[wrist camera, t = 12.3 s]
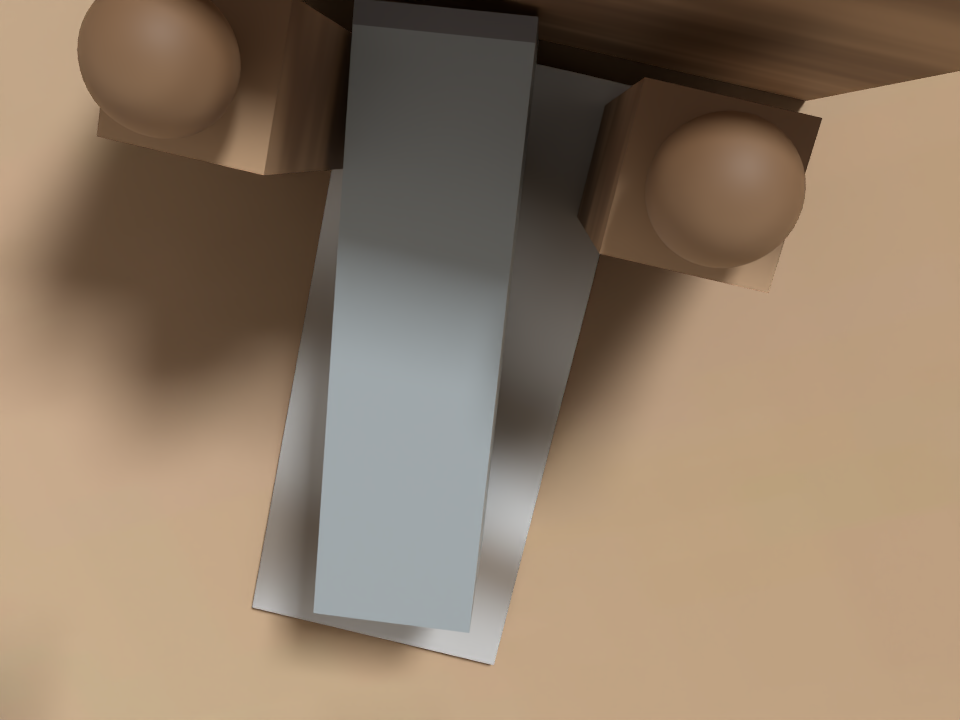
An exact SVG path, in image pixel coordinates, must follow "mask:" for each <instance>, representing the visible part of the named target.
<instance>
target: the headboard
mask: <svg viewBox="0 0 960 720" xmlns="http://www.w3.org/2000/svg"><path fill="white" fill-rule="evenodd" d="M377 1H387V2H397V3H407V4H417V5H427V6H437V7H447V8H456V9H466V10H476V11H486V12H496V13H506V14H516V15H526V16H536V17H538V39H541V40H545V41H550V42H554V43H558V44H562V45H567V46H571V47H575V48H580V49H584V50H588V51H593V52H597V53H601V54H606V55H610V56H614V57H619V58H623V59H627V60H632V61H636V62H640V63H645V64H649V65H653V66H658V67H662V68H666V69H671V70H675V71H679V72H684V73H688V74H692V75H697V76H701V77H705V78H710V79H714V80H718V81H723V82H727V83H731V84H735V85H740V86H744V87H748V88H753V89H757V90H761V91H766V92H770V93H774V94H779V95H783V96H787V97H792V98H796V99H800V100H805V101H808V100H813V99H818V98H823V97H828V96H833V95H838V94H844V93H849V92H854V91H859V90H864V89H869V88H874V87H879V86H885V85H890V84H895V83H900V82H905V81H910V80H915V79H921V78H926V77H931V76H936V75H941V74H946V73H951V72H957V71H960V0H377ZM351 41H352V33H351V32H349V31H347V30H346V29H344V28H343V27H341V26H340V25H338V24H337V23H335V22H333V21H332V20H330V19H329V18H327V17H326V16H324V15H323V14H321V13H319V12H318V11H316V10H315V9H313V8H312V7H310V6H308V5H307V4H305V3H304V2H302V1H301V0H95V2H94V3H93V4H92V5H91V7H90V8H89V10H88V11H87V13H86V15H85V17H84V19H83V22H82V25H81V28H80V31H79V37H78V48H77V51H78V61H79V66H80V71H81V74H82V77H83V80H84V82H85V85H86V87H87V89H88V91H89V92H90V94H91V96H92V97H93V99H94V100H95V101H96V103H97V104H98V105H99V106H100V113H99V122H98V130H97V136H98V137H102V138H106V139H111V140H115V141H119V142H124V143H128V144H132V145H136V146H141V147H145V148H149V149H154V150H158V151H162V152H166V153H171V154H175V155H179V156H183V157H188V158H192V159H196V160H201V161H205V162H209V163H213V164H218V165H222V166H226V167H231V168H235V169H239V170H243V171H248V172H252V173H256V174H260V175H273V174H285V173H297V172H310V171H322V170H332V171H331V177H330V182H329V188H328V193H327V199H326V204H325V210H324V215H323V221H322V226H321V232H320V238H319V243H318V249H317V254H316V260H315V265H314V271H313V276H312V282H311V287H310V293H309V298H308V304H307V309H306V315H305V320H304V326H303V331H302V337H301V342H300V348H299V353H298V359H297V364H296V370H295V375H294V381H293V386H292V392H291V397H290V403H289V408H288V414H287V419H286V425H285V430H284V436H283V441H282V447H281V452H280V458H279V463H278V469H277V474H276V480H275V485H274V491H273V496H272V502H271V507H270V513H269V518H268V524H267V529H266V535H265V540H264V546H263V551H262V557H261V562H260V568H259V573H258V579H257V584H256V590H255V595H254V601H253V606H252V608H257V609H261V610H265V611H269V612H273V613H278V614H282V615H286V616H290V617H294V618H298V619H303V620H307V621H311V622H315V623H319V624H324V625H328V626H332V627H336V628H340V629H344V630H349V631H353V632H357V633H361V634H365V635H370V636H374V637H378V638H382V639H386V640H391V641H395V642H399V643H403V644H407V645H411V646H416V647H420V648H424V649H428V650H432V651H437V652H441V653H445V654H449V655H453V656H457V657H462V658H466V659H470V660H474V661H478V662H483V663H487V664H491V665H494V662H495V658H496V654H497V650H498V646H499V643H500V639H501V635H502V631H503V627H504V623H505V619H506V615H507V612H508V608H509V604H510V600H511V596H512V592H513V588H514V584H515V581H516V577H517V573H518V569H519V565H520V561H521V557H522V553H523V550H524V546H525V542H526V538H527V534H528V530H529V526H530V523H531V519H532V515H533V511H534V507H535V503H536V499H537V495H538V492H539V488H540V484H541V480H542V476H543V472H544V468H545V464H546V461H547V457H548V453H549V449H550V445H551V441H552V437H553V433H554V430H555V426H556V422H557V418H558V414H559V410H560V406H561V403H562V399H563V395H564V391H565V387H566V383H567V379H568V375H569V372H570V368H571V364H572V360H573V356H574V352H575V348H576V344H577V341H578V337H579V333H580V329H581V325H582V321H583V317H584V313H585V310H586V306H587V302H588V298H589V294H590V290H591V286H592V283H593V279H594V275H595V271H596V267H597V263H598V259H599V255H600V254H603V255H607V256H611V257H616V258H620V259H624V260H629V261H633V262H637V263H641V264H646V265H650V266H654V267H659V268H663V269H667V270H671V271H676V272H680V273H684V274H688V275H693V276H697V277H701V278H706V279H710V280H714V281H718V282H723V283H727V284H731V285H736V286H740V287H744V288H748V289H753V290H757V291H761V292H766V293H769V289H770V286H771V283H772V280H773V276H774V273H775V270H776V267H777V263H778V260H779V257H780V254H781V250H782V247H783V244H784V241H785V238H786V237H787V236H788V235H789V233H790V232H791V231H792V229H793V228H794V226H795V224H796V222H797V220H798V218H799V216H800V213H801V210H802V207H803V203H804V199H805V190H806V184H805V172H806V169H807V166H808V162H809V159H810V156H811V153H812V149H813V146H814V143H815V140H816V136H817V133H818V130H819V127H820V123H821V120H822V118H820V117H815V116H811V115H807V114H803V113H798V112H794V111H790V110H785V109H781V108H777V107H772V106H768V105H764V104H759V103H755V102H751V101H746V100H742V99H738V98H733V97H729V96H725V95H720V94H716V93H712V92H707V91H703V90H699V89H694V88H690V87H686V86H682V85H677V84H673V83H669V82H664V81H660V80H656V79H651V78H647V77H644V78H643V79H642V80H640V81H639V82H637V83H636V84H635V85H633V86H631V85H626V84H622V83H618V82H613V81H609V80H605V79H600V78H596V77H592V76H587V75H583V74H579V73H575V72H570V71H566V70H562V69H557V68H553V67H549V66H544V65H540V64H536V71H535V80H534V89H533V98H532V107H531V116H530V125H529V133H528V142H527V151H526V160H525V169H524V178H523V187H522V195H521V204H520V213H519V222H518V231H517V240H516V249H515V257H514V266H513V275H512V284H511V293H510V302H509V311H508V319H507V328H506V337H505V346H504V355H503V364H502V372H501V381H500V390H499V399H498V408H497V417H496V426H495V434H494V443H493V452H492V461H491V470H490V479H489V488H488V496H487V505H486V514H485V523H484V532H483V541H482V548H481V555H480V562H479V569H478V576H477V583H476V590H475V597H474V604H473V611H472V618H471V625H470V632H469V633H465V632H457V631H450V630H442V629H434V628H426V627H418V626H411V625H403V624H395V623H387V622H379V621H371V620H364V619H356V618H348V617H340V616H332V615H325V614H317V613H314V598H315V583H316V568H317V553H318V538H319V523H320V508H321V493H322V478H323V463H324V447H325V432H326V417H327V402H328V387H329V372H330V357H331V342H332V327H333V312H334V297H335V282H336V267H337V252H338V237H339V222H340V207H341V192H342V177H343V162H344V147H345V132H346V117H347V102H348V87H349V72H350V56H351Z"/></svg>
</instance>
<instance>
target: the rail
mask: <svg viewBox="0 0 960 720" xmlns="http://www.w3.org/2000/svg"><path fill="white" fill-rule="evenodd" d="M537 54H538V17H536V16H526V15H516V14H506V13H496V12H486V11H476V10H466V9H456V8H447V7H437V6H427V5H417V4H407V3H397V2H387V1H377V0H354V11H353V26H352V41H351V56H350V72H349V87H348V102H347V117H346V132H345V147H344V162H343V177H342V192H341V207H340V222H339V237H338V252H337V267H336V282H335V297H334V312H333V327H332V342H331V357H330V372H329V387H328V402H327V417H326V432H325V447H324V463H323V478H322V493H321V508H320V523H319V538H318V553H317V568H316V583H315V598H314V613H317V614H325V615H332V616H340V617H348V618H356V619H364V620H371V621H379V622H387V623H395V624H403V625H411V626H418V627H426V628H434V629H442V630H450V631H457V632H465V633H469V632H470V625H471V618H472V611H473V604H474V597H475V590H476V583H477V576H478V569H479V562H480V555H481V548H482V541H483V532H484V523H485V514H486V505H487V496H488V488H489V479H490V470H491V461H492V452H493V443H494V434H495V426H496V417H497V408H498V399H499V390H500V381H501V372H502V364H503V355H504V346H505V337H506V328H507V319H508V311H509V302H510V293H511V284H512V275H513V266H514V257H515V249H516V240H517V231H518V222H519V213H520V204H521V195H522V187H523V178H524V169H525V160H526V151H527V142H528V133H529V125H530V116H531V107H532V98H533V89H534V80H535V71H536V63H537Z"/></svg>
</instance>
